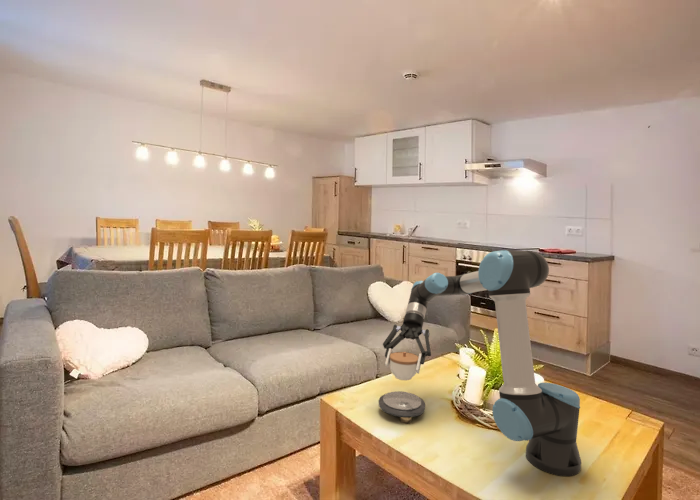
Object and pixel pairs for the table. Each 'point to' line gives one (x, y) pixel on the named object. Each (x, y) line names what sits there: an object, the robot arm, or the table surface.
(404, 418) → the base
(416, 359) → the lidded jar
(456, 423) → the table surface
